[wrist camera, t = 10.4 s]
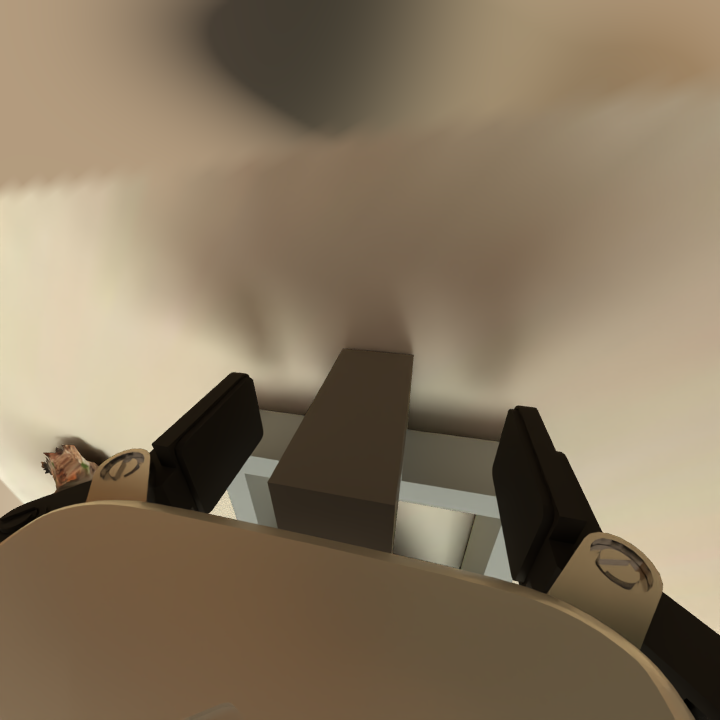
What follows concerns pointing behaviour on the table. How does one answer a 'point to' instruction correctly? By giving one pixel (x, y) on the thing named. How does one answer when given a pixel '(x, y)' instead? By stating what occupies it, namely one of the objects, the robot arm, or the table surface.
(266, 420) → the sled
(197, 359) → the table surface
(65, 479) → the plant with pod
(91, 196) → the table surface
